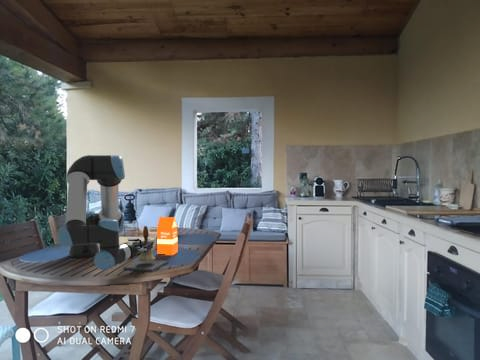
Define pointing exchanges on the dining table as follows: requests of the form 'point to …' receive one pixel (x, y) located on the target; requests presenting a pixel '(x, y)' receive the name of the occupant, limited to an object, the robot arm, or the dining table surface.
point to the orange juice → (167, 236)
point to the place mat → (146, 265)
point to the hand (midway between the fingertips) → (152, 241)
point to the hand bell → (148, 255)
